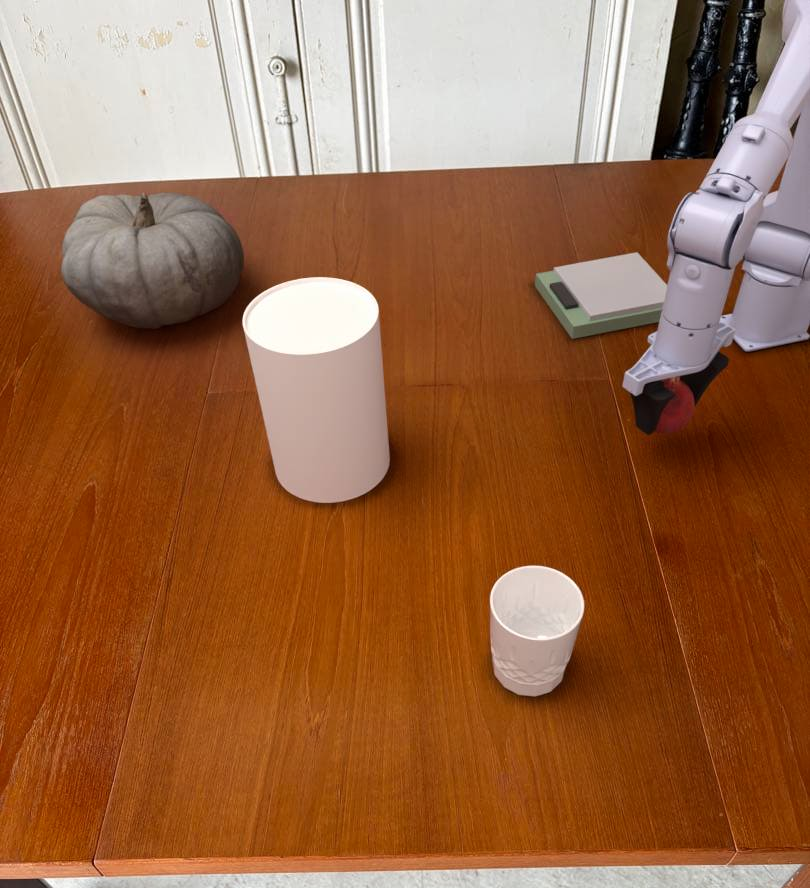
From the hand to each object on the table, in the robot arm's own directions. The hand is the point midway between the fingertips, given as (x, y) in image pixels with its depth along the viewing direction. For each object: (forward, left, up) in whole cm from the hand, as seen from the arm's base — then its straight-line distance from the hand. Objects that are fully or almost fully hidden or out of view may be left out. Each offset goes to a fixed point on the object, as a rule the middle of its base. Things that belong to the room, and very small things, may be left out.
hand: (664, 418), depth 92 cm
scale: (-7, -30, -4) cm, 31 cm away
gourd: (+54, -50, -5) cm, 74 cm away
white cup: (+25, +24, -5) cm, 35 cm away
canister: (+37, -9, -5) cm, 38 cm away
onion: (0, 0, -2) cm, 2 cm away
